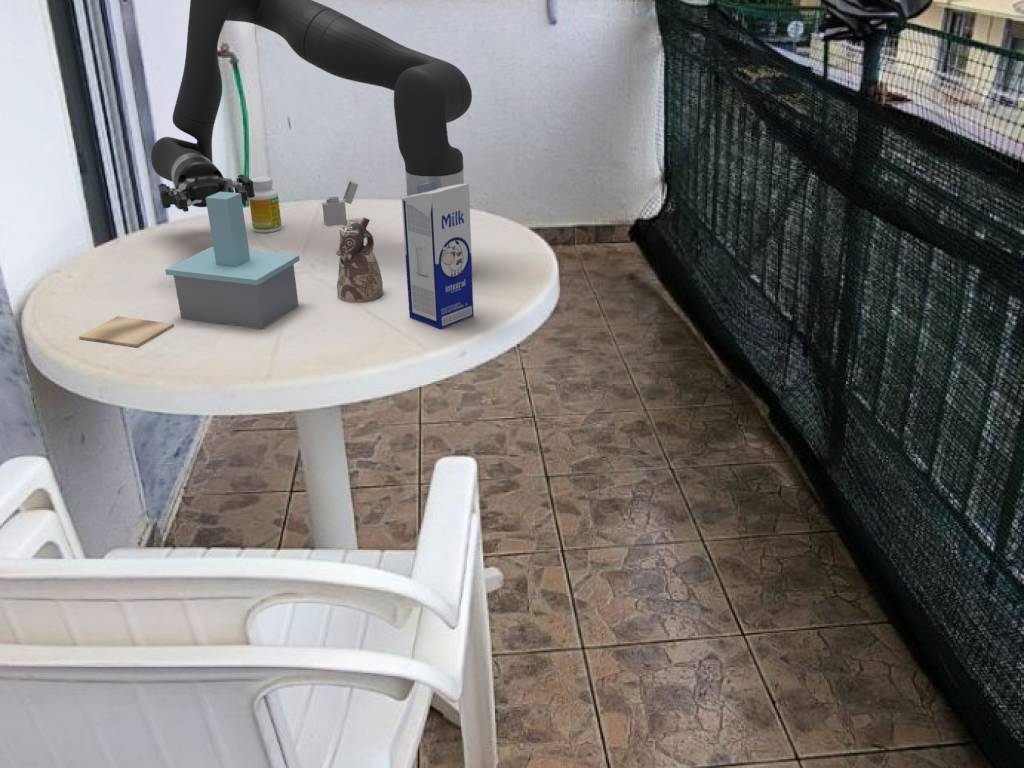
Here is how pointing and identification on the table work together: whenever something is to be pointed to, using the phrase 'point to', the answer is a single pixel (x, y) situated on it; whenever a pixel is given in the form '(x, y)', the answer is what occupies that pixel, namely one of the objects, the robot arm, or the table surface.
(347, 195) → the lighter
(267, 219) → the supplement bottle
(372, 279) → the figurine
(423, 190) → the milk carton
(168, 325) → the mat
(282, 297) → the tub
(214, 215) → the lid
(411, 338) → the table surface
